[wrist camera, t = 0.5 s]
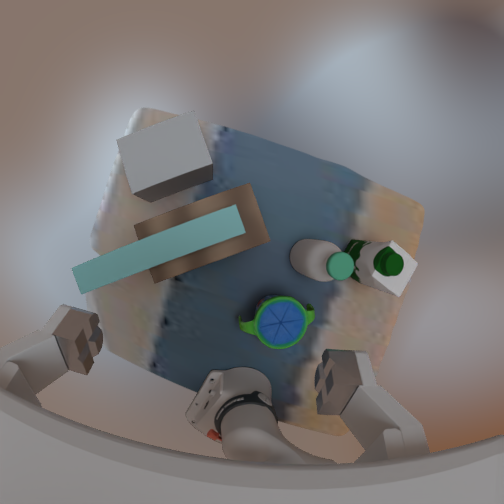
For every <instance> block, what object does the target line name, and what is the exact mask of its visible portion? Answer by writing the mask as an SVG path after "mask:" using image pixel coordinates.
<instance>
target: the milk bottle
mask: <svg viewBox="0 0 504 504" xmlns="http://www.w3.org/2000/svg"><path fill="white" fill-rule="evenodd" d="M290 262H291V265H292V266H293V268H294V269H295V270H296V271H298V272H299V273H301V274H303V275H305V276H307V277H309V278H312V279H314V280H317V281H323V282H325V281H331V280H333V279H336V280H345V279H347V278H348V277H349V276H350V275H351V274H352V272H353V270H354V262H353V259H352V258H351V256H350V255H349V254H347V253H345V252H341V250H340V249H339V248H338V247H337V246H336V245H335V244H333V243H331V242H328V241H323V240H314V239H303V240H300V241H298V242H297V243H296V244H295V245H294V246H293V247H292V249H291V252H290Z"/></svg>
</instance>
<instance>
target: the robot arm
mask: <svg viewBox="0 0 504 504" xmlns="http://www.w3.org/2000/svg"><path fill="white" fill-rule="evenodd" d="M99 322H100V321H99V317H98V314H96V313H93V312H89V311H86V310H82V309H79V308H75V307H71V306H67V305H64V304H63V305H61V306H60V307H59V308H58V309H57V310H56V312H55V313H54V314H53V315H52V317H51V318H50V319H49V321H48V322H47V323H46V325H45V326H44V328H43V329H42V330H41V331H39V330H37V331H35V332H33V333H30V334H29V335H26V336H24V337H22V338H20V339H18V340H16V341H14V342H12V343H10V344H7V345H5V346H3V347H1V348H0V504H504V435H497V436H494V437H491V438H488V439H485V440H481V441H478V442H475V443H471V444H467V445H463V446H459V447H456V448H451V449H447V450H443V451H438V452H433V453H430V451H429V447H428V444H427V440H426V436H425V433H424V430H423V426H422V424H421V423H420V422H419V421H418V420H416V419H415V418H414V417H413V416H412V415H411V414H410V413H409V412H408V411H407V410H406V409H405V408H404V407H403V406H401V404H400V403H398V402H397V401H396V400H395V399H394V398H393V397H392V396H391V395H390V394H389V393H388V392H387V391H385V389H384V388H383V387H382V386H377V383H376V380H375V376H374V373H373V369H372V366H371V362H370V359H369V356H368V353H367V352H366V351H355V350H353V351H352V350H335V349H326V350H325V351H324V352H323V355H322V361H323V362H322V363H320V364H318V367H317V370H316V374H315V390H316V391H317V392H318V393H319V394H318V396H317V398H316V403H317V413H318V414H323V415H340V417H341V418H342V420H343V421H344V422H345V424H346V425H347V427H348V428H349V429H350V431H351V432H352V433H353V435H354V436H355V437H356V439H357V440H358V441H359V443H360V444H361V445H362V447H363V448H364V449H365V452H364V453H363V454H362V455H361V456H360V457H359V458H358V459H357V460H356V461H355V462H354V463H343V464H337V463H336V462H334V461H333V460H330V459H325V458H321V457H317V456H313V455H311V454H309V453H307V452H305V451H303V450H301V449H299V448H298V447H296V446H295V445H293V444H292V443H290V442H289V441H288V440H287V439H286V438H285V437H284V436H283V435H282V433H281V431H280V429H279V427H278V420H277V416H276V412H275V410H274V407H273V405H272V403H271V393H272V389H271V384H270V382H269V380H268V379H267V377H266V376H265V375H264V374H263V373H261V372H260V371H258V370H255V369H252V368H248V367H238V368H233V369H229V370H212V371H210V373H209V374H208V376H207V378H206V379H205V381H204V383H203V384H202V386H201V388H200V389H199V391H198V393H197V395H196V396H195V398H194V400H193V402H192V403H191V405H190V406H189V408H188V410H187V412H186V418H187V420H188V421H189V423H190V424H191V425H192V426H193V427H194V428H196V429H197V430H198V431H200V432H201V433H203V434H204V435H206V436H207V437H209V438H210V439H212V440H214V441H216V442H219V443H222V448H223V452H224V454H225V456H226V457H227V459H223V458H216V457H209V456H203V455H197V454H191V453H185V452H180V451H175V450H171V449H166V448H162V447H157V446H153V445H149V444H145V443H141V442H137V441H133V440H130V439H127V438H123V437H120V436H116V435H113V434H110V433H107V432H104V431H101V430H98V429H94V428H91V427H89V426H86V425H83V424H80V423H78V422H75V421H73V420H70V419H67V418H65V417H62V416H60V415H57V414H55V413H53V412H51V411H48V410H46V409H44V408H42V406H41V403H40V402H39V400H38V398H37V397H36V394H37V393H38V392H40V391H41V390H42V389H44V388H45V387H47V386H48V385H50V384H51V383H52V382H54V381H55V380H56V379H58V378H59V377H61V376H62V375H63V374H65V373H66V372H68V370H71V371H74V372H77V373H81V374H84V375H88V373H89V371H90V369H91V367H92V365H93V363H94V361H93V357H94V356H96V355H97V354H99V352H100V350H101V348H102V344H103V333H102V330H101V329H100V328H99V327H98V323H99ZM211 378H213V379H214V380H211ZM193 421H195V422H193Z"/></svg>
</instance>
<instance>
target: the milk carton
mask: <svg viewBox="0 0 504 504" xmlns="http://www.w3.org/2000/svg"><path fill="white" fill-rule="evenodd" d="M344 252H345V253H347V254H349V255H350V256H351V258H352V259H353V262H354V270H353V272H352V274H351V275H350V276H351V277H352V278H353V279H355V280H356V281H357V282H359V283H361V284H364V285H367V286H370V287H372V288H375V289H378V290H380V291H384V292H387V293H389V294H392V295H395V296H397V297H400V295H401V293H402V292H403V290H404V288H405V287H406V285H407V283H408V281H409V279H410V278H411V276H412V274H413V272H414V270H415V268H416V267H417V265H418V263H417V262H416V261H415V260H414V259H413V258H412V257H411V256H410V255H409V254H408V253H407V252H405V251H404V250H403V249H402V248H401V247H400V246H399V245H397V244H396V243H395V242H394V241H388V242H373V241H362V240H351V241H350V243H349V245H348V246H347V248H346V250H345V251H344Z"/></svg>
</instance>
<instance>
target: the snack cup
mask: <svg viewBox="0 0 504 504" xmlns="http://www.w3.org/2000/svg"><path fill="white" fill-rule="evenodd" d="M314 318H315V314H314V308H313V306H312V305H311V304H307V311H306V310H305V309H304V307H303V306H302V305H301V304H300V303H299V302H298V301H297V300H295V298H293V297H290V296H278V295H269V296H266V297H264V298H262V299H261V300H260V301H259V302H258V304H257V306H256V309H255V317H254V320H252V321H249V322H243V321H242V318H241V316H239V325H240V329H241V330H242V331H244V332H246V333H249V334H253V335H256V336H257V337H258V338H259V340H260V341H261V342H262V343H263V344H265V345H266V346H268V347H269V348H272V349H273V348H274V349H284V348H288V347H291V346H293V345H294V344H296V343H297V342H298V341H299V340H300V339H301V338H302V337H303V335H304V334H305V331H306V329H307V325H308V324H310V323H311V322H312V321H313V320H314Z"/></svg>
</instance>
